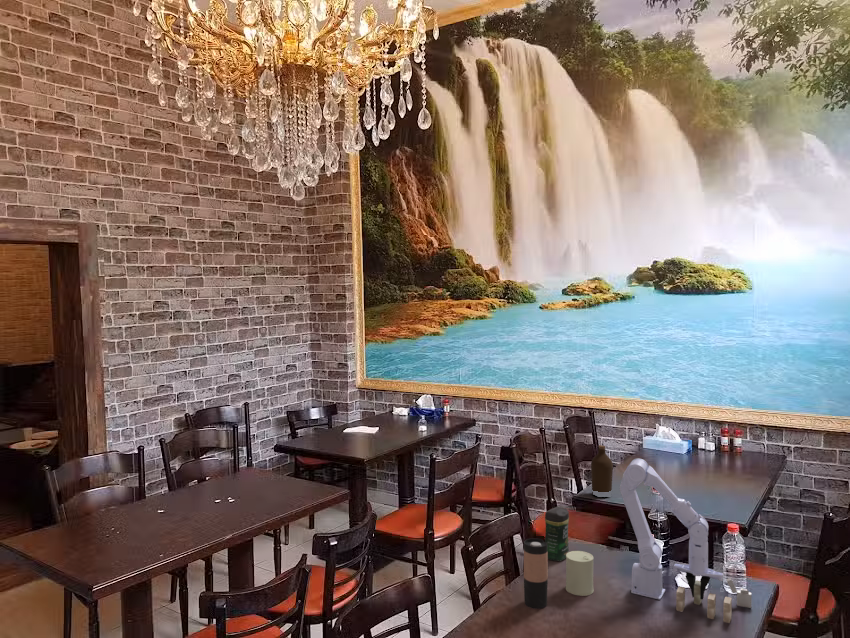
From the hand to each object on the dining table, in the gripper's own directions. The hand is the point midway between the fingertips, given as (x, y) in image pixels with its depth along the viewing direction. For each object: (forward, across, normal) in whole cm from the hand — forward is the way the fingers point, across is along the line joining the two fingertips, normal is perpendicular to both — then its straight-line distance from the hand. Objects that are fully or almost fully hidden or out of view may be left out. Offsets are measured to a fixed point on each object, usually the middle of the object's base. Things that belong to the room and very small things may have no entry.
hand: (697, 597), depth 205 cm
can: (+2, -36, -12) cm, 37 cm away
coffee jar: (+2, -52, +10) cm, 53 cm away
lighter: (+2, +12, +4) cm, 12 cm away
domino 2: (+1, 0, 0) cm, 1 cm away
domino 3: (+2, +5, -8) cm, 9 cm away
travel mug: (+2, -44, -28) cm, 53 cm away
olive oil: (+2, -58, +94) cm, 111 cm away
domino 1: (+2, -4, -8) cm, 9 cm away
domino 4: (+2, +10, -8) cm, 12 cm away
